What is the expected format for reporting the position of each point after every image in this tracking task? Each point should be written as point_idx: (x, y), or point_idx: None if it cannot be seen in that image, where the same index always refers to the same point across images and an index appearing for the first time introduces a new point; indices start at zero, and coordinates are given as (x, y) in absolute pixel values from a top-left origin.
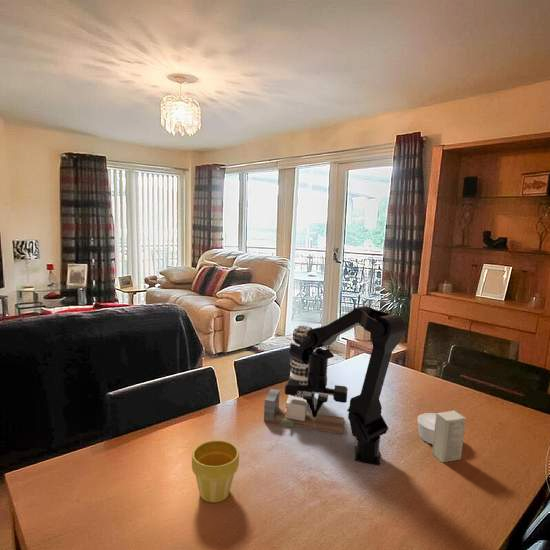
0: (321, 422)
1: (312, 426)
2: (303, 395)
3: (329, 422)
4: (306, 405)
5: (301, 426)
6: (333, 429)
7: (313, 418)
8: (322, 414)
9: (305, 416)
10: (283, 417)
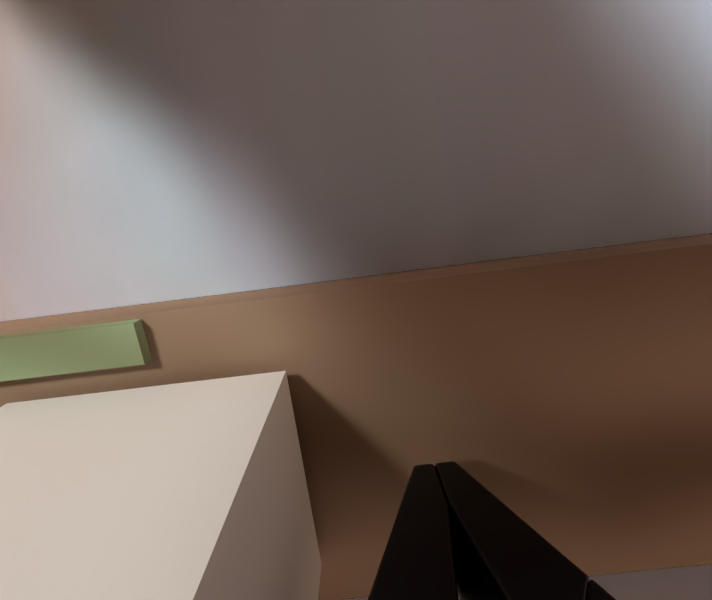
0: (531, 486)
1: None
2: None
3: (635, 443)
4: None
5: None
6: (689, 563)
7: (410, 434)
8: (517, 275)
9: (305, 499)
10: None
